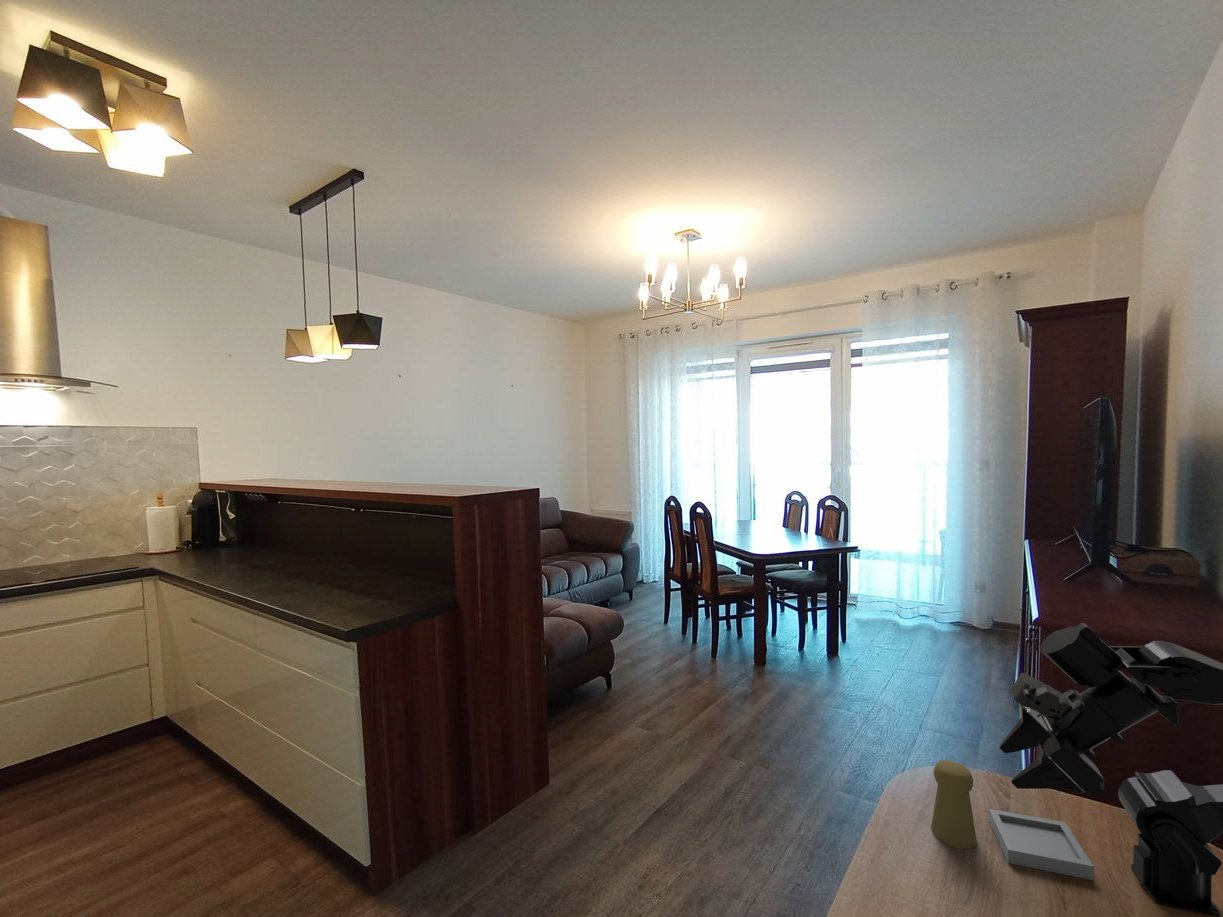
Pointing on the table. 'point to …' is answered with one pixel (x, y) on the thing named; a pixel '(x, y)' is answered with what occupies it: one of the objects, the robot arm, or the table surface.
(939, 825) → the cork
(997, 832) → the gray tray
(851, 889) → the table surface
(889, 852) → the table surface
